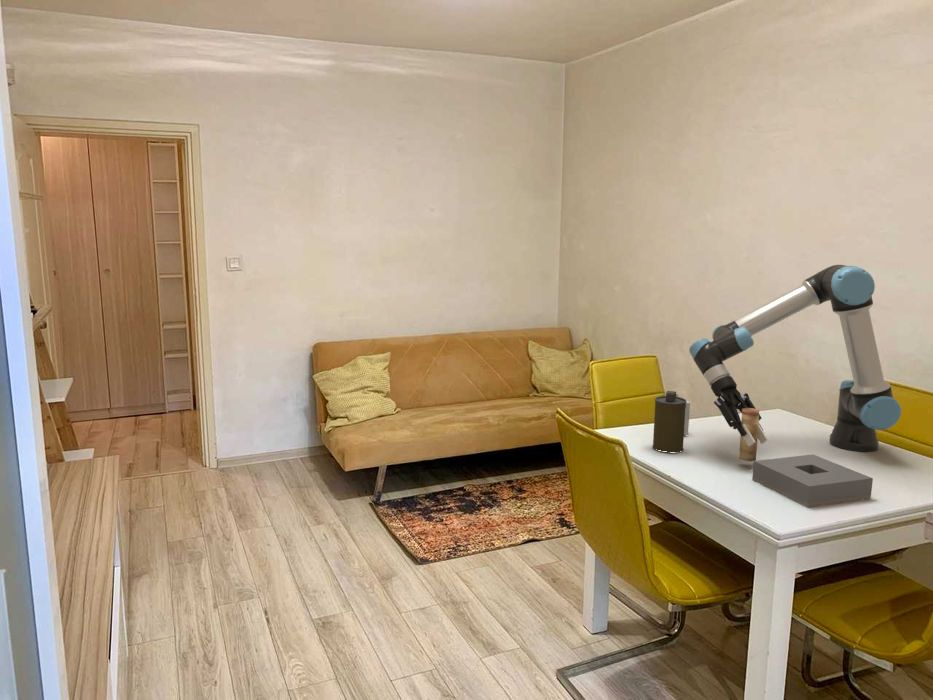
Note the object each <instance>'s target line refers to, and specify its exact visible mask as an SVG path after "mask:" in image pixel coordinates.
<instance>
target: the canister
mask: <svg viewBox="0 0 933 700" xmlns="http://www.w3.org/2000/svg"><path fill="white" fill-rule="evenodd" d="M685 399H686V398H684V397H680V396H678V394H677V391H675V390H674V391H673V390H667V391H666V393H665V395H661V396H656V397H655V398H654V418H653V420H654V421H653V438H652V440H653V441H652V446H651V447H653V448H654V449H657V450H661V451H667V452H680V451H682V452H683V451H684V450H685V449H684V439H685V438H684V437H685V436H684V424H685V408H686V402H687V401H688V400H687V399H686V400H687V401H686V400H685ZM653 448H652V449H653ZM654 449H653V450H654ZM680 453H681V452H680Z"/></svg>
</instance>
